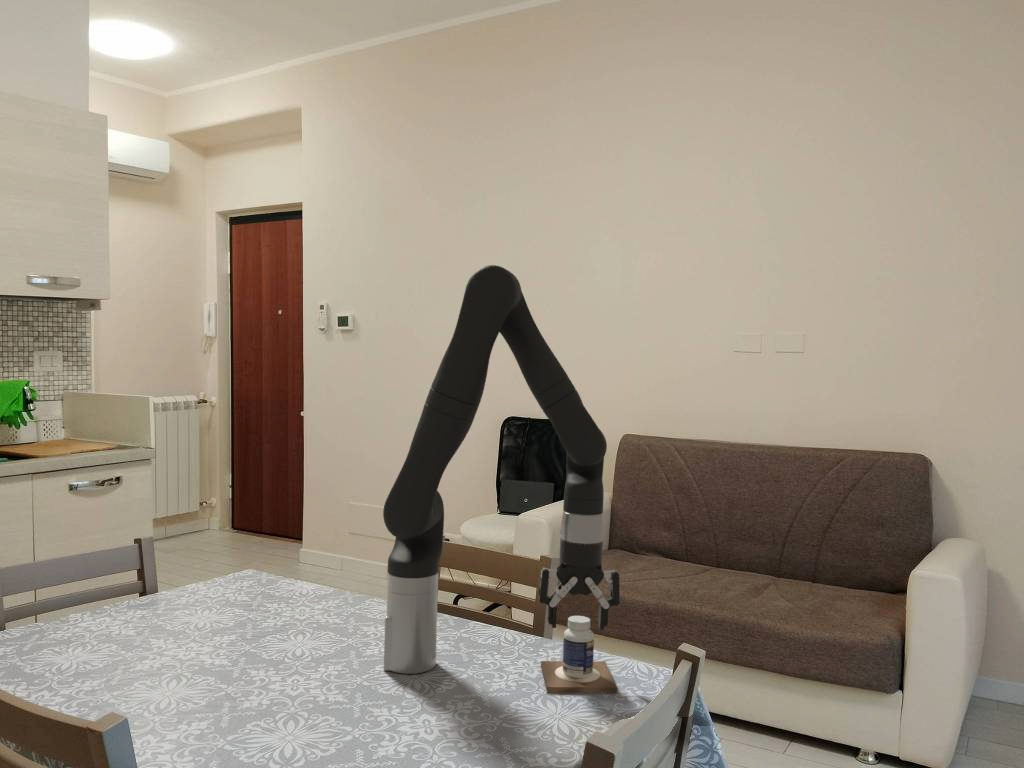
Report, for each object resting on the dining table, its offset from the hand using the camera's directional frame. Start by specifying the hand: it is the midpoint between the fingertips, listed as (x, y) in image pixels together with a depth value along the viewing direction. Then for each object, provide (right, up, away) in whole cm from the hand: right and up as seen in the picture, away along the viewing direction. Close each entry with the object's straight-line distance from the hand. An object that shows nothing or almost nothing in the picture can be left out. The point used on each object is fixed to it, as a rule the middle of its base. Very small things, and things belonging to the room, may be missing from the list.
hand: (577, 627), depth 142 cm
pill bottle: (0, -8, 0) cm, 8 cm away
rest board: (0, -9, 0) cm, 9 cm away
